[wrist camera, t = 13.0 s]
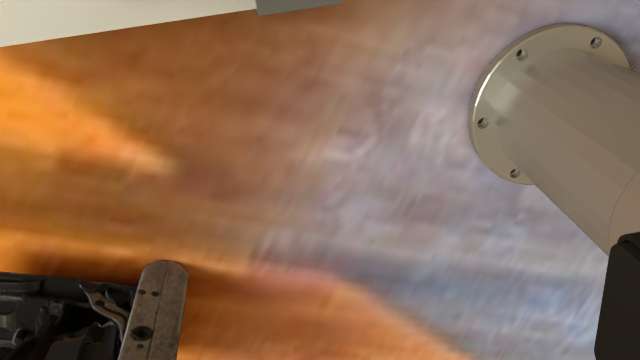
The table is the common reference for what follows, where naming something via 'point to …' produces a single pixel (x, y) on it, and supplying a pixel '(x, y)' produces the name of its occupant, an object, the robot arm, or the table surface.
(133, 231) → the table surface
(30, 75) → the table surface
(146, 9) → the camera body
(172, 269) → the vintage camera
